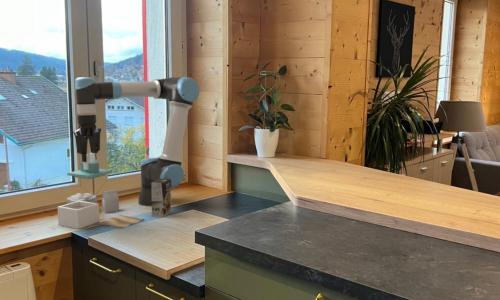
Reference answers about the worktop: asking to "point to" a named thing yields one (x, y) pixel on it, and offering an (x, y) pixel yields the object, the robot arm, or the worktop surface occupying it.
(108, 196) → the grey rectangular block
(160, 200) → the coffee box
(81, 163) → the lid
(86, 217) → the storage box
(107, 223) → the cork mat
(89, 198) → the lumpy-topped squat cylinder
